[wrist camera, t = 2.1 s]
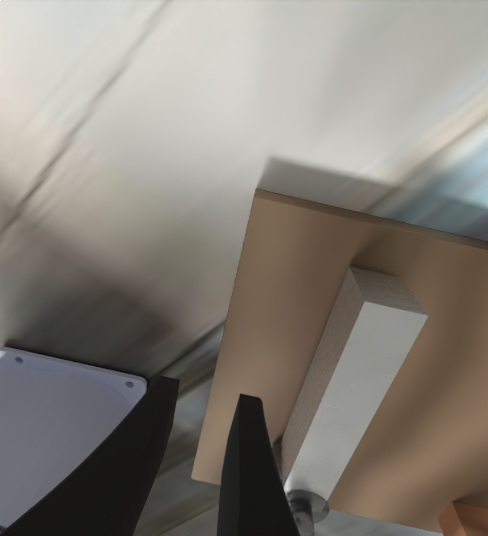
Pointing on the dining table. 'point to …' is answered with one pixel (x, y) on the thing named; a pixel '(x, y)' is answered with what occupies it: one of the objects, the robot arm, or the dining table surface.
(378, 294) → the bar
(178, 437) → the dining table surface
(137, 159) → the dining table surface
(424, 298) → the brown wooden board
